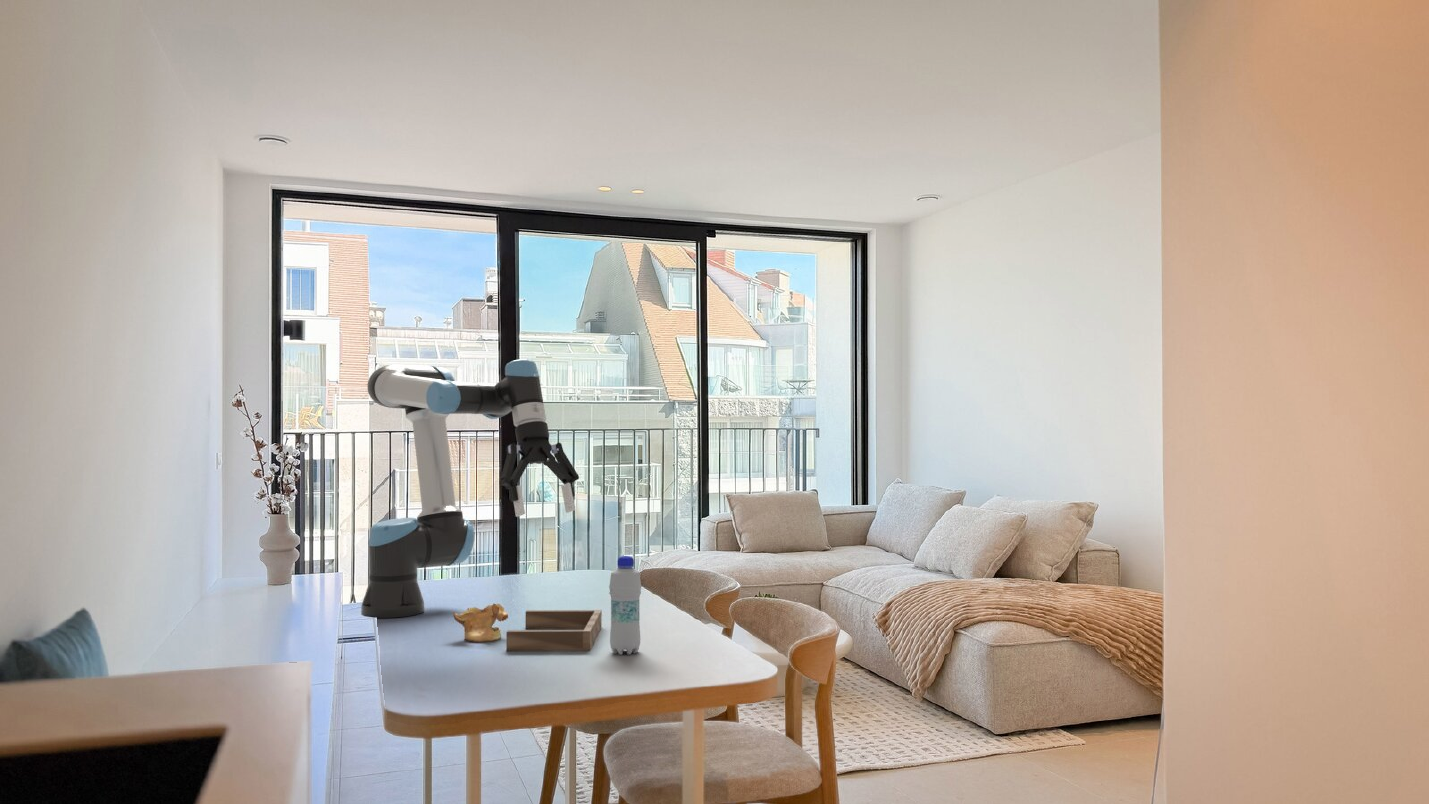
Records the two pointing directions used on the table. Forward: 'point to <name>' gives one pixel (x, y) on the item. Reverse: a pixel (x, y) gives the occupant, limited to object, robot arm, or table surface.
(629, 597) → the bottle
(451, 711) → the table surface
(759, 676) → the table surface
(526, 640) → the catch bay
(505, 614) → the golden dog figurine
